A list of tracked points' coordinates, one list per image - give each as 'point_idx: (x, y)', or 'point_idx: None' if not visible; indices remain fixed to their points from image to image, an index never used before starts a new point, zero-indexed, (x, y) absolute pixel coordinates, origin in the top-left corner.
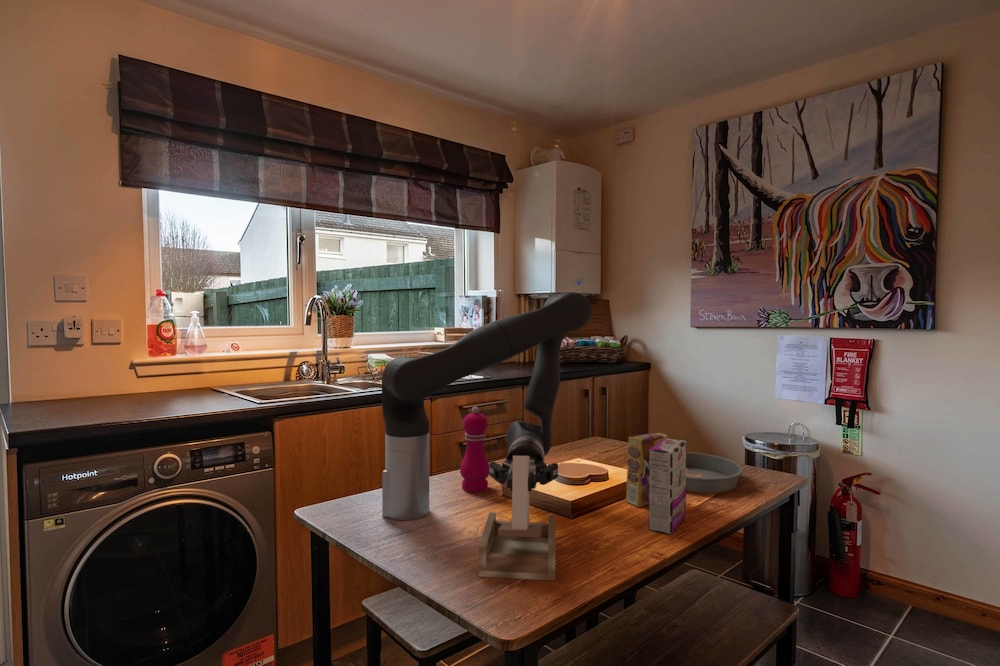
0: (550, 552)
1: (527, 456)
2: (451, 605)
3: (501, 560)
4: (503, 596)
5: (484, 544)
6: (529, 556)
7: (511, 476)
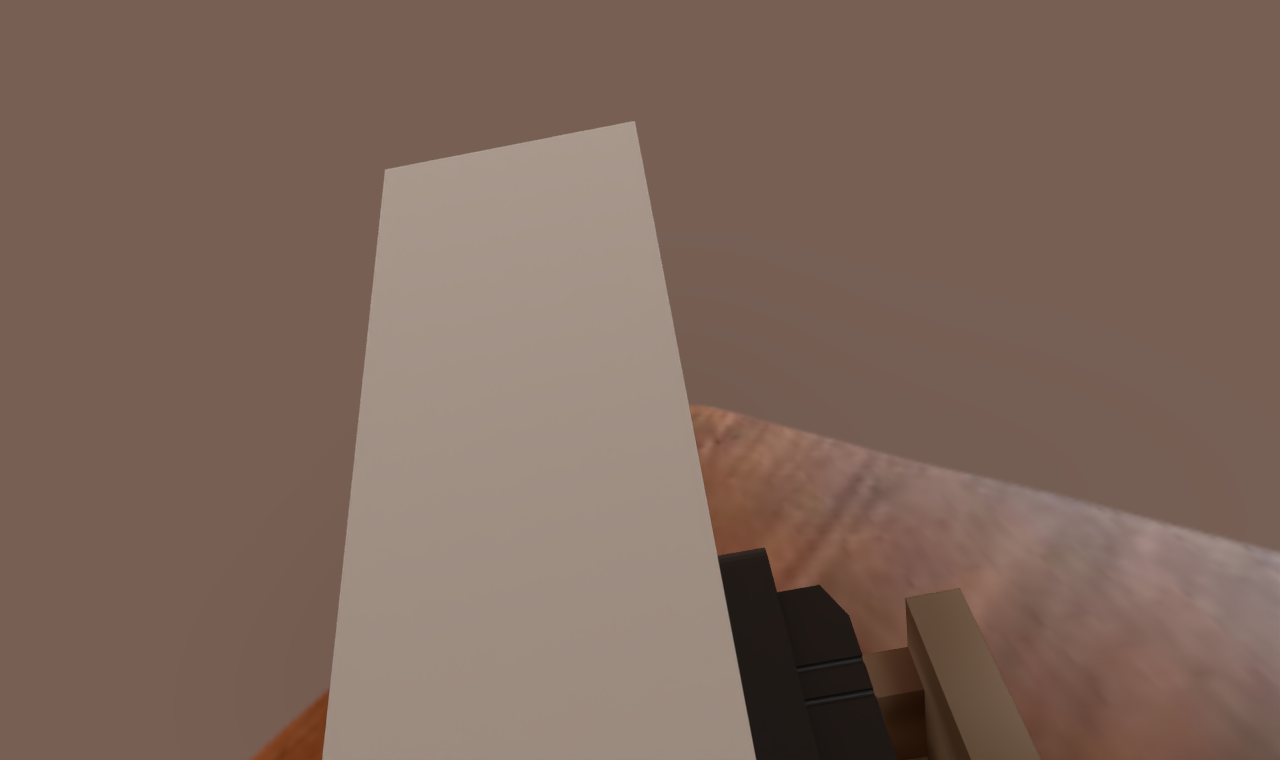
0: None
1: (390, 176)
2: (948, 477)
3: None
4: None
5: (932, 621)
6: None
7: (776, 632)
